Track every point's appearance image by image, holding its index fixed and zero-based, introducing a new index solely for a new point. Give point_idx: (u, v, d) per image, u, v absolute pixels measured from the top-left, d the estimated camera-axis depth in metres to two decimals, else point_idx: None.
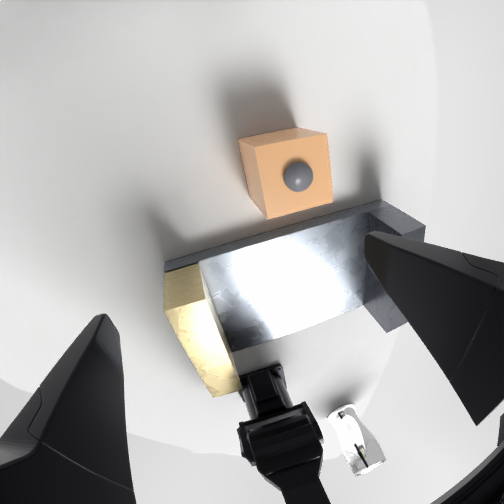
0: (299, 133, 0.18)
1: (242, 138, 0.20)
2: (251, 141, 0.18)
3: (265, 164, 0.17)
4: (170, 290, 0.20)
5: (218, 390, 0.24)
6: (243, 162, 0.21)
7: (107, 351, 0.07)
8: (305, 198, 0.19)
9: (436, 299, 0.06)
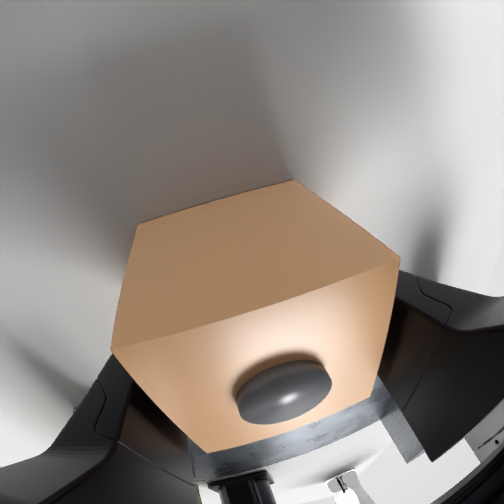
0: (299, 231, 0.06)
1: (147, 223, 0.08)
2: (143, 263, 0.06)
3: (168, 386, 0.04)
4: None
5: None
6: None
7: None
8: (302, 415, 0.06)
9: None
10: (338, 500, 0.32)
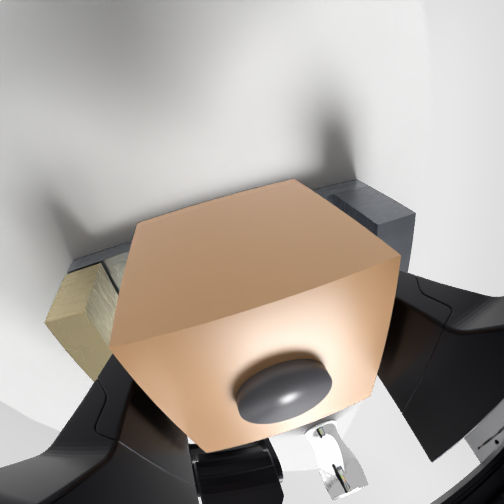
0: (299, 229, 0.06)
1: (146, 222, 0.08)
2: (142, 262, 0.06)
3: (167, 385, 0.04)
4: (60, 296, 0.14)
5: None
6: None
7: None
8: (302, 414, 0.06)
9: None
10: (318, 452, 0.38)
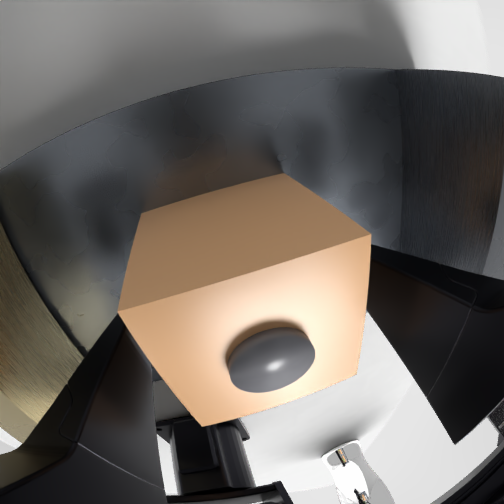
0: (284, 215, 0.07)
1: (150, 212, 0.09)
2: (147, 244, 0.07)
3: (166, 349, 0.05)
4: None
5: None
6: None
7: (136, 344, 0.07)
8: (291, 388, 0.07)
9: (410, 313, 0.06)
10: (339, 479, 0.27)
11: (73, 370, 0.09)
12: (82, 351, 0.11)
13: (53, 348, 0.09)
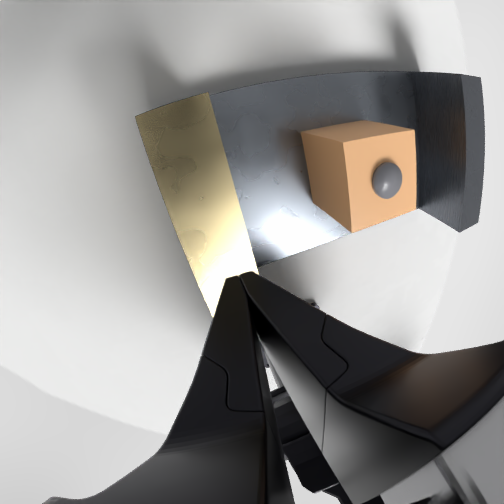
0: (379, 127, 0.14)
1: (306, 131, 0.16)
2: (326, 134, 0.14)
3: (354, 164, 0.13)
4: None
5: None
6: (308, 160, 0.17)
7: (251, 312, 0.08)
8: (391, 206, 0.14)
9: (287, 368, 0.06)
10: None
11: None
12: None
13: None
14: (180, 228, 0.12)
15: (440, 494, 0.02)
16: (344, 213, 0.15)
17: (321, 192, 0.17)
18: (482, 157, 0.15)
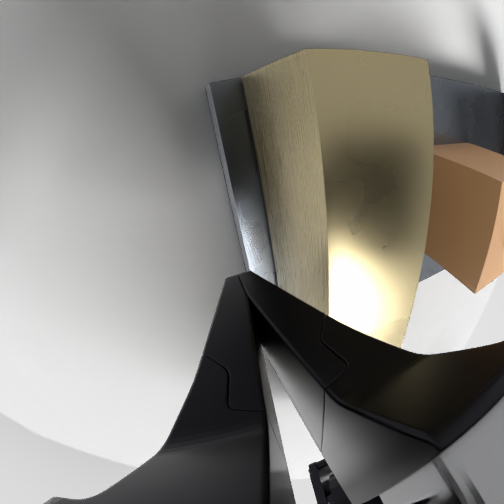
0: (503, 159, 0.08)
1: None
2: (461, 161, 0.09)
3: (502, 211, 0.07)
4: None
5: None
6: None
7: None
8: None
9: (286, 368, 0.06)
10: None
11: None
12: None
13: None
14: (338, 297, 0.06)
15: (439, 496, 0.02)
16: (470, 268, 0.09)
17: (432, 232, 0.11)
18: None
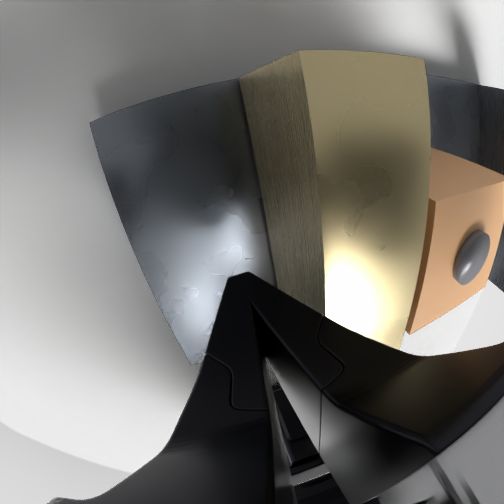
0: (462, 166, 0.08)
1: None
2: None
3: (441, 238, 0.07)
4: None
5: None
6: None
7: None
8: (464, 289, 0.08)
9: (284, 369, 0.06)
10: None
11: None
12: None
13: None
14: (334, 298, 0.06)
15: (435, 498, 0.02)
16: None
17: None
18: None
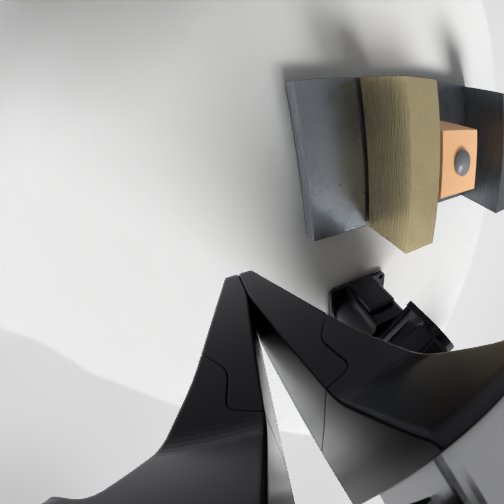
0: (453, 125, 0.16)
1: None
2: None
3: (446, 147, 0.15)
4: None
5: (414, 238, 0.17)
6: None
7: (251, 312, 0.08)
8: (462, 182, 0.17)
9: (287, 367, 0.06)
10: None
11: None
12: (344, 194, 0.20)
13: None
14: (413, 159, 0.14)
15: (440, 494, 0.02)
16: None
17: None
18: None
